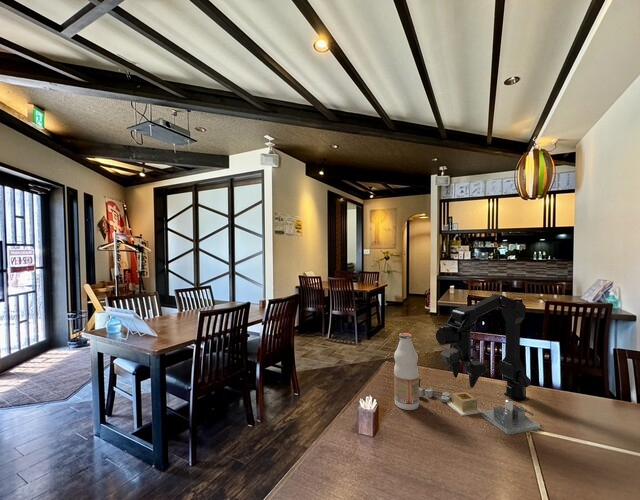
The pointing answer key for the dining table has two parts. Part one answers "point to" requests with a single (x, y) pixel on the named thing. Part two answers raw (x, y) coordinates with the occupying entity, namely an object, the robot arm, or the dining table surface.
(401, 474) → the dining table surface
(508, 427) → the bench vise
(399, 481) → the dining table surface
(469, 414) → the felt mat
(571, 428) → the dining table surface
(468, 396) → the brass collar
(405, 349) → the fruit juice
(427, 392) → the pulley system
